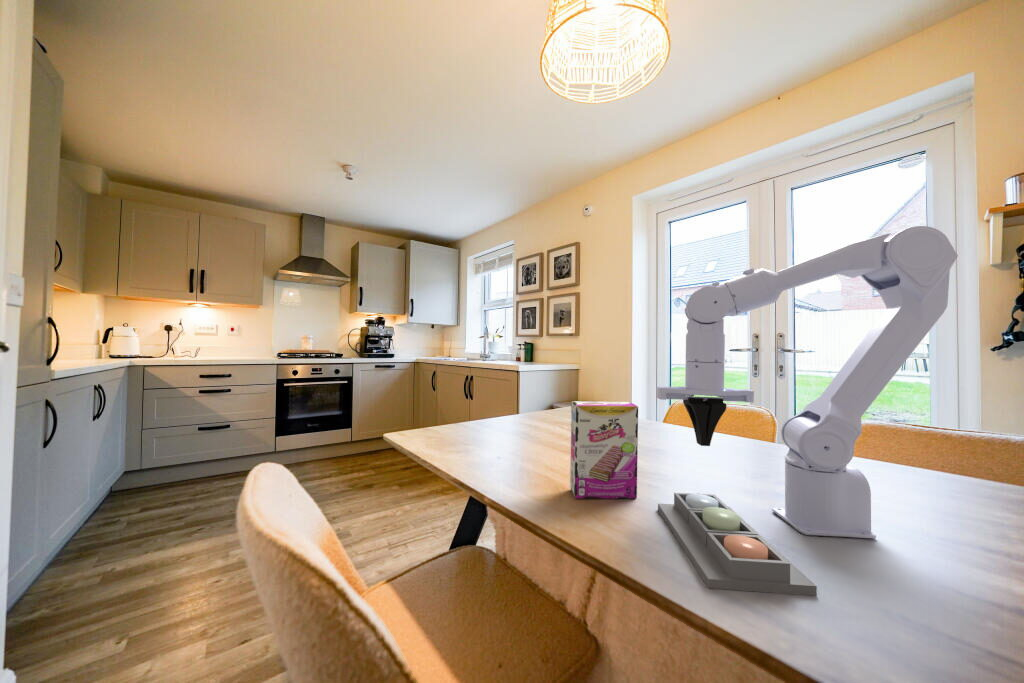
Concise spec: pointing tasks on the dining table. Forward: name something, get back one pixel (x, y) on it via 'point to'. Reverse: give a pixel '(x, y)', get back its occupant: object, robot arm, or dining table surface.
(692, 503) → the pale blue button
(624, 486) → the candy bar box
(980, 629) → the dining table surface
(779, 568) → the button panel
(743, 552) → the terracotta button
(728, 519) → the sage button
